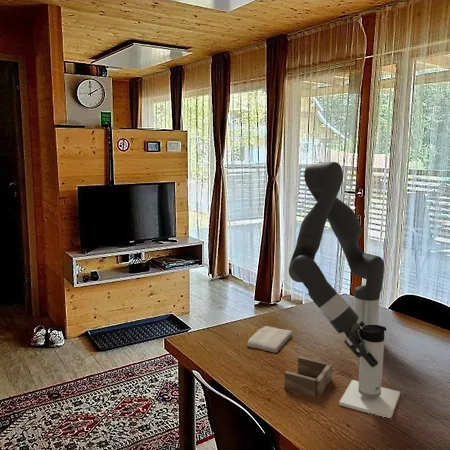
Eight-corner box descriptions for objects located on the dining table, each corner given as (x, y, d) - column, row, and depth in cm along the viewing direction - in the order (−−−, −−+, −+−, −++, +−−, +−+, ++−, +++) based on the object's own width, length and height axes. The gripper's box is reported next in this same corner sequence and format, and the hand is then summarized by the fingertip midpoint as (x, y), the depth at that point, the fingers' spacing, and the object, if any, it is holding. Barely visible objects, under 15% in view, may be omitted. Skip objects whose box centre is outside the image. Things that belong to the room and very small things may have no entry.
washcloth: (293, 336, 176) (293, 328, 176) (277, 355, 160) (277, 346, 160) (264, 330, 182) (264, 323, 181) (246, 348, 166) (246, 340, 165)
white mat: (352, 382, 141) (352, 379, 140) (399, 394, 134) (400, 391, 133) (339, 404, 129) (339, 401, 128) (390, 419, 122) (391, 416, 121)
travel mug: (383, 399, 127) (387, 332, 124) (359, 396, 128) (362, 330, 125) (380, 387, 133) (384, 323, 130) (357, 385, 134) (360, 321, 131)
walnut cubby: (299, 370, 148) (299, 356, 147) (331, 378, 143) (332, 364, 142) (284, 387, 138) (284, 372, 137) (318, 397, 132) (319, 381, 132)
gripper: (341, 313, 124) (383, 364, 120) (354, 298, 136) (393, 344, 132) (321, 328, 128) (362, 378, 124) (336, 312, 140) (373, 356, 136)
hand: (378, 360), depth 128 cm, fingers closed on travel mug, 6 cm apart
